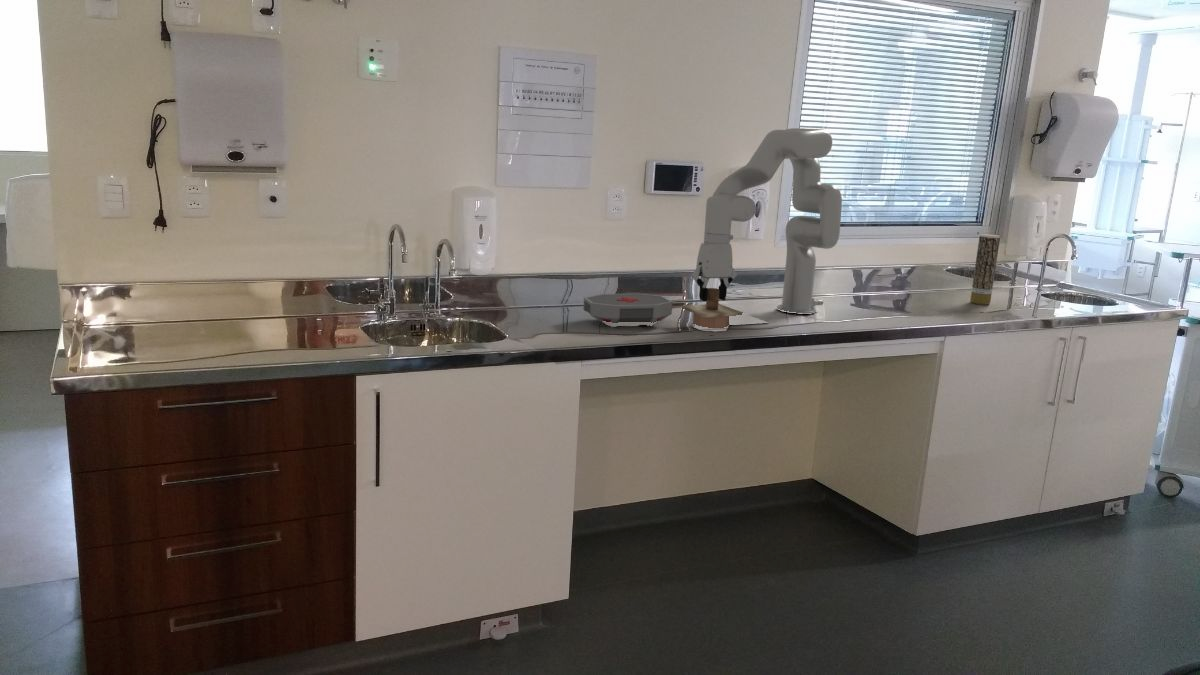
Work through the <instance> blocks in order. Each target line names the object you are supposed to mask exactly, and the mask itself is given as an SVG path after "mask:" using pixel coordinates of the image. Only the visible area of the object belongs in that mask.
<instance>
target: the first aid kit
mask: <svg viewBox="0 0 1200 675" xmlns="http://www.w3.org/2000/svg"><path fill="white" fill-rule="evenodd" d="M582 307H583V308H582V309H583V310H584V311H585V312H586V313H588V314H589V315H590V316H591V317H592V318H594V319H596V320H597V321H599V322H601V321H606V322H612V323H618V322H651V323H652V322H653V323H654V322H656V321H657V322H658V321H660V322H661V321H663V320H664V319H666V318H667V317H669V316H671V315H672V314H673V301H672V300H671V299H669V298H666V297H665V296H663V295H656V294H646V293H645V294H644V293H599V294H593V295H588V296H584V297H583V306H582ZM658 323H659V322H658Z"/></svg>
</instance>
